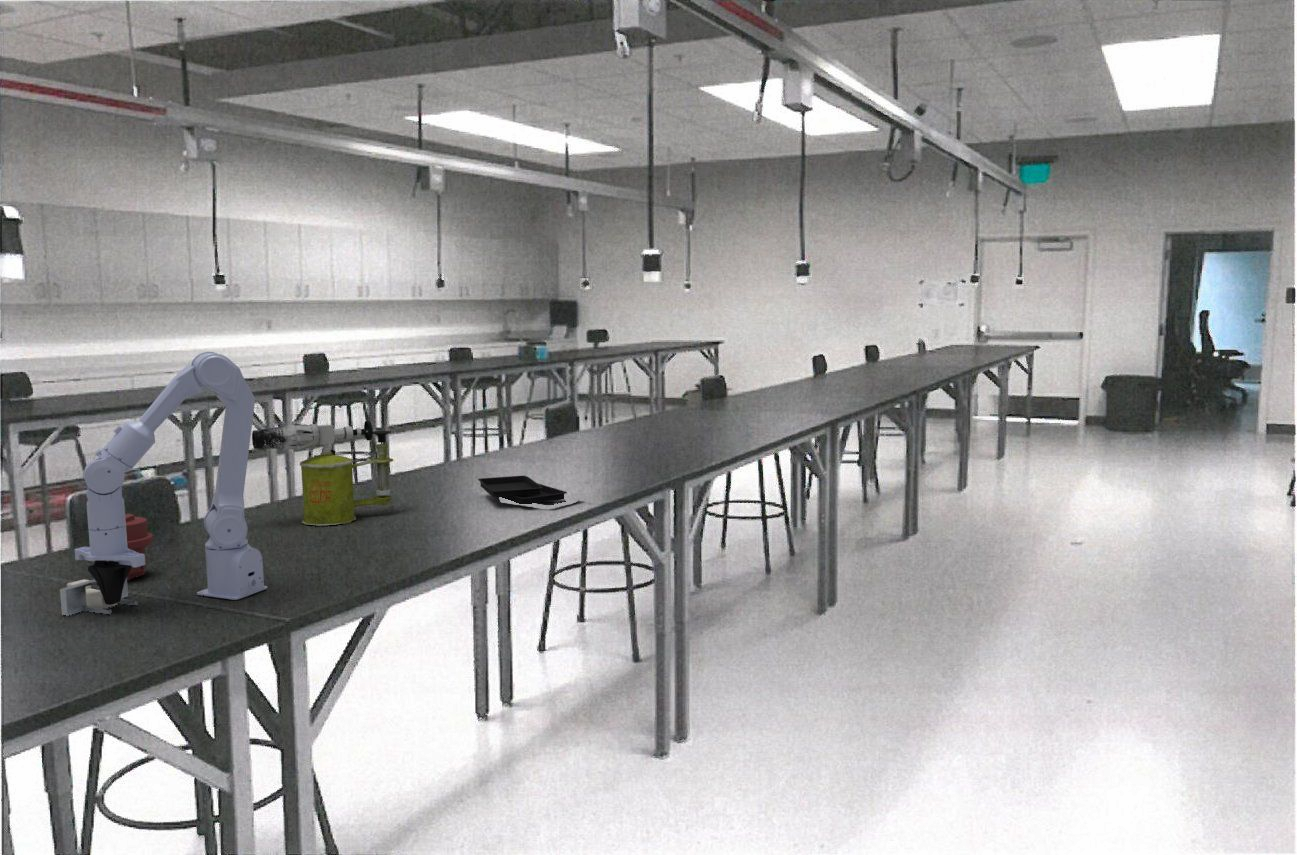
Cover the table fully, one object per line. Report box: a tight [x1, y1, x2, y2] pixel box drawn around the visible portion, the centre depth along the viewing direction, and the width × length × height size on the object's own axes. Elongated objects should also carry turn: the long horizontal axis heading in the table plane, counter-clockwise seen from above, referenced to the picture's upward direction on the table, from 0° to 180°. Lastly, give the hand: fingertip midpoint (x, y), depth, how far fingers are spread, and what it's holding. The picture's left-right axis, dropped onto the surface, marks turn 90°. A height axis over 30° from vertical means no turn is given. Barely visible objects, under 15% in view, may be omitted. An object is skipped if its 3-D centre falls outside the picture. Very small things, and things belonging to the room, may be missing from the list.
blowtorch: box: [251, 420, 394, 526], centre depth 239 cm, size 13×33×25 cm, turn 122°
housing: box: [59, 577, 138, 617], centre depth 172 cm, size 7×12×5 cm, turn 158°
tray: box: [477, 475, 568, 505], centre depth 262 cm, size 30×23×5 cm
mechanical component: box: [125, 513, 154, 582], centre depth 190 cm, size 12×10×10 cm
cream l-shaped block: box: [66, 578, 118, 609], centre depth 174 cm, size 10×3×4 cm, turn 64°
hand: (113, 602), depth 172 cm, fingers closed
